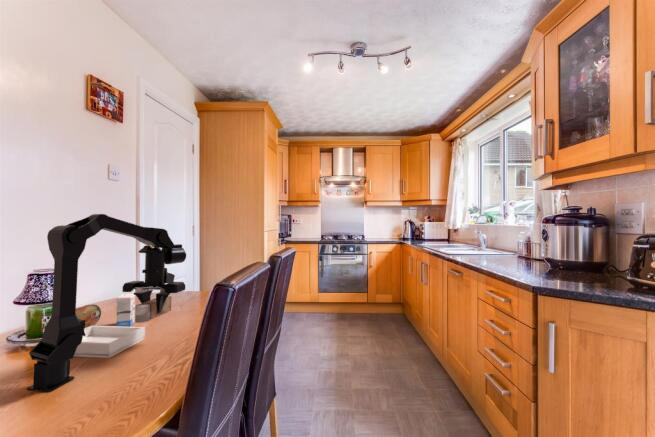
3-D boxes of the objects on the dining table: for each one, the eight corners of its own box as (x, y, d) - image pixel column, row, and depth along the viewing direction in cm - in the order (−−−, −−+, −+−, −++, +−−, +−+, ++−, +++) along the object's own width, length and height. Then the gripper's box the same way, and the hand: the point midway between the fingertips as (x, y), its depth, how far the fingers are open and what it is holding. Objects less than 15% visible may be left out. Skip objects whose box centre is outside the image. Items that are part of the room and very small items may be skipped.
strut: (144, 323, 94) (144, 306, 94) (132, 322, 94) (132, 306, 95) (171, 310, 109) (172, 296, 109) (160, 310, 109) (161, 296, 109)
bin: (109, 357, 92) (109, 344, 92) (47, 355, 93) (48, 342, 94) (144, 338, 108) (145, 327, 108) (91, 336, 109) (92, 325, 110)
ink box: (130, 327, 120) (131, 297, 121) (115, 328, 118) (116, 298, 119) (135, 321, 128) (135, 292, 129) (121, 322, 126) (122, 293, 127)
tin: (63, 335, 111) (63, 312, 111) (56, 334, 111) (56, 311, 112) (101, 323, 125) (102, 302, 126) (95, 322, 126) (95, 301, 126)
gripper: (194, 263, 110) (193, 307, 109) (144, 262, 111) (143, 305, 111) (176, 267, 99) (175, 316, 98) (121, 266, 100) (120, 314, 99)
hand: (153, 312), depth 102 cm, fingers closed on strut, 4 cm apart
